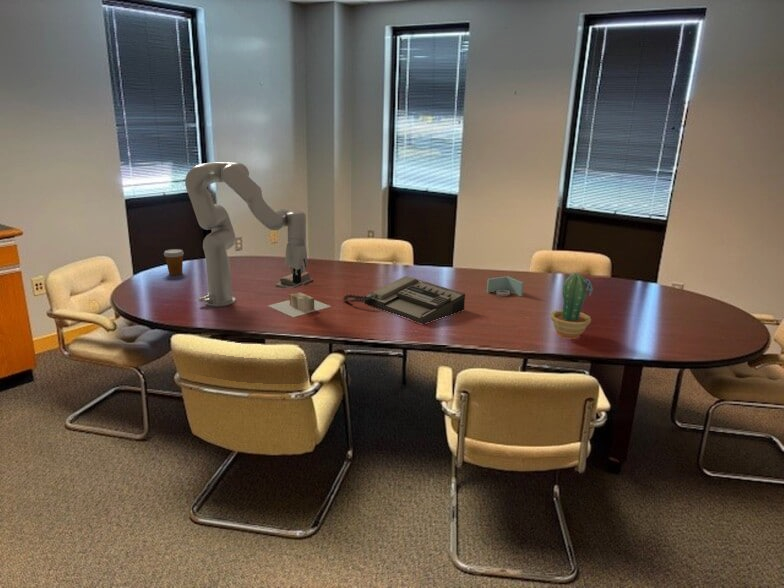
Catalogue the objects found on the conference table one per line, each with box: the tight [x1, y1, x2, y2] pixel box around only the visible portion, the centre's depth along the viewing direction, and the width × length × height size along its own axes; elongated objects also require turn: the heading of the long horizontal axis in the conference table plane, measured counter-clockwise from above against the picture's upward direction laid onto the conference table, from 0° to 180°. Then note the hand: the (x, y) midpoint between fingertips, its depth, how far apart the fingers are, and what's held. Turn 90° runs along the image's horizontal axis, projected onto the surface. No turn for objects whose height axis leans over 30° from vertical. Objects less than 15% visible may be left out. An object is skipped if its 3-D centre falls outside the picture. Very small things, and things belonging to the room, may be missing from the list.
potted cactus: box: [549, 273, 594, 339], centre depth 215 cm, size 15×15×25 cm
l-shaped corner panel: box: [486, 275, 525, 297], centre depth 266 cm, size 12×12×8 cm
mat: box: [267, 299, 331, 318], centre depth 243 cm, size 20×19×1 cm
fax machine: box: [342, 275, 466, 325], centre depth 246 cm, size 45×34×10 cm
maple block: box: [289, 291, 315, 312], centre depth 241 cm, size 5×5×11 cm
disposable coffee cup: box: [163, 248, 185, 276], centre depth 286 cm, size 10×10×12 cm
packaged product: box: [275, 271, 314, 289], centre depth 277 cm, size 18×5×10 cm
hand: (296, 282), depth 240 cm, fingers closed
